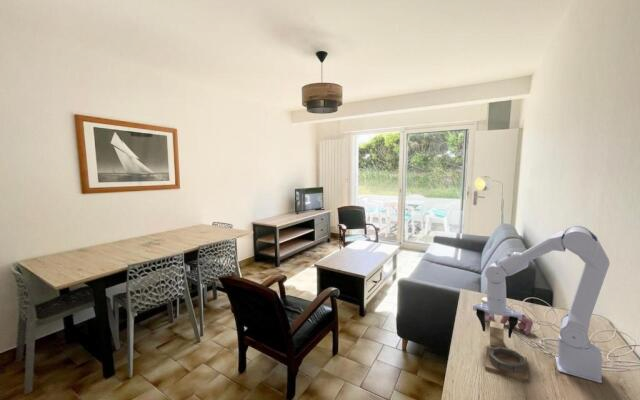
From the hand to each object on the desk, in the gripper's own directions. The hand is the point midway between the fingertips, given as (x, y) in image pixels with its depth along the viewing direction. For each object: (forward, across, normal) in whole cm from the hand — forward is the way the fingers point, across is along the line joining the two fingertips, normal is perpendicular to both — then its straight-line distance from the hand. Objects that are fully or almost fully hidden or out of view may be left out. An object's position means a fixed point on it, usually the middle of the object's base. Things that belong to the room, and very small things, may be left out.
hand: (496, 333), depth 97 cm
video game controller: (+4, -6, -14) cm, 16 cm away
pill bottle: (+4, +4, -17) cm, 18 cm away
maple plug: (+4, 0, 0) cm, 4 cm away
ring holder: (+4, -3, +11) cm, 12 cm away
